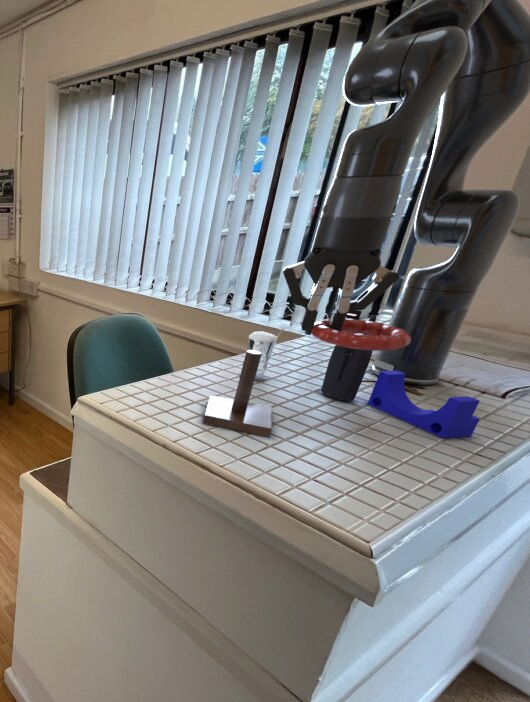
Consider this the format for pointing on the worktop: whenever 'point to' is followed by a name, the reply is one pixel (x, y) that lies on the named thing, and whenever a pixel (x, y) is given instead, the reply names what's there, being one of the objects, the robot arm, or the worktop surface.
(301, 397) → the worktop surface
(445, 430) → the cable clip
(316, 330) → the ring
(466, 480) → the worktop surface
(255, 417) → the stand
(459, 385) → the worktop surface
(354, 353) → the two-way radio
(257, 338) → the milkshake
